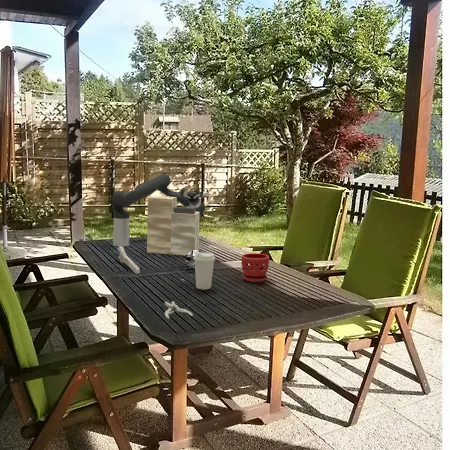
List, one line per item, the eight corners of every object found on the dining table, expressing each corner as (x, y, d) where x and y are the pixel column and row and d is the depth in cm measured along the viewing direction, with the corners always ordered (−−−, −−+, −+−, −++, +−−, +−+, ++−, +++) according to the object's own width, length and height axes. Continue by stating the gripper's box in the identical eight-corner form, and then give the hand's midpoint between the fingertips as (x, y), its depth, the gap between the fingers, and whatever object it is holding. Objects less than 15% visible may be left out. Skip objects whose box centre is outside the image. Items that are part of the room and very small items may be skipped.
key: (182, 208, 286) (182, 203, 286) (201, 209, 285) (201, 205, 284) (173, 212, 267) (173, 207, 266) (194, 214, 265) (194, 208, 265)
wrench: (136, 280, 225) (116, 259, 250) (139, 279, 226) (120, 259, 251) (136, 264, 223) (117, 245, 248) (140, 264, 224) (120, 244, 249)
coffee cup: (190, 285, 210) (191, 252, 208) (210, 283, 214) (211, 251, 211) (196, 291, 202) (197, 257, 199) (217, 289, 205) (218, 256, 203)
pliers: (167, 315, 167) (156, 302, 181) (167, 319, 168) (156, 306, 181) (193, 312, 171) (181, 300, 185) (193, 316, 172) (180, 304, 185)
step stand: (153, 248, 283) (153, 195, 278) (198, 251, 279) (200, 198, 274) (146, 252, 271) (147, 197, 266) (194, 256, 267) (195, 200, 262)
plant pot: (270, 277, 228) (271, 253, 226) (265, 285, 215) (266, 259, 213) (244, 274, 231) (245, 251, 229) (237, 281, 219) (238, 256, 217)
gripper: (184, 194, 311) (179, 183, 296) (205, 195, 309) (201, 184, 294) (183, 204, 309) (177, 194, 294) (204, 206, 306) (200, 195, 292)
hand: (189, 189), depth 294 cm, fingers open, 8 cm apart
